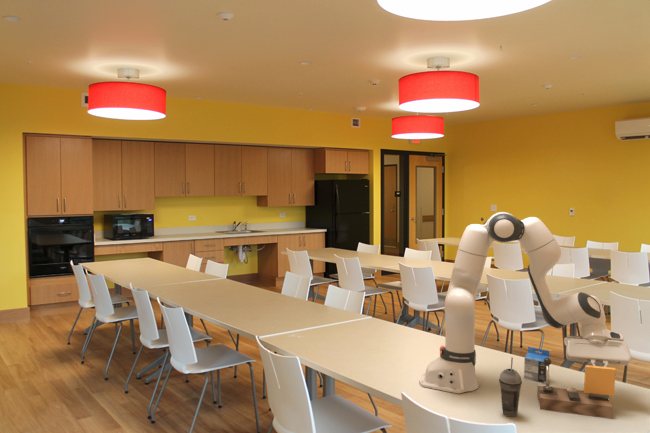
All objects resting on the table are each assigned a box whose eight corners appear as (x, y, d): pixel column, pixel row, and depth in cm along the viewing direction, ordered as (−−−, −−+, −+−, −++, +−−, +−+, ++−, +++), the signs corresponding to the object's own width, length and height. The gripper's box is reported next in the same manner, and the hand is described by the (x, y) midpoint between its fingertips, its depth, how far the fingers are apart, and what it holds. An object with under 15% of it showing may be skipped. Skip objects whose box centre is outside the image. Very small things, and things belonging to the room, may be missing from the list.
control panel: (540, 409, 171) (540, 394, 171) (537, 396, 182) (537, 382, 182) (612, 418, 164) (612, 403, 163) (604, 404, 175) (604, 389, 175)
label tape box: (523, 378, 200) (523, 348, 200) (527, 375, 203) (527, 346, 203) (545, 383, 194) (546, 353, 194) (549, 381, 197) (550, 350, 197)
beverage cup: (516, 410, 170) (516, 352, 170) (525, 419, 163) (526, 359, 162) (495, 410, 170) (495, 353, 169) (503, 419, 163) (504, 360, 162)
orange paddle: (584, 396, 171) (586, 367, 168) (583, 394, 173) (585, 364, 170) (613, 400, 168) (615, 370, 165) (612, 397, 170) (614, 367, 167)
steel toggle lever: (543, 391, 174) (543, 357, 178) (543, 391, 177) (542, 357, 180) (553, 392, 173) (552, 357, 177) (552, 392, 176) (551, 358, 179)
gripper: (564, 330, 179) (567, 366, 170) (628, 335, 173) (635, 372, 164) (562, 339, 184) (566, 374, 175) (625, 344, 177) (632, 380, 168)
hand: (600, 373), depth 169 cm, fingers closed, pressing on orange paddle
